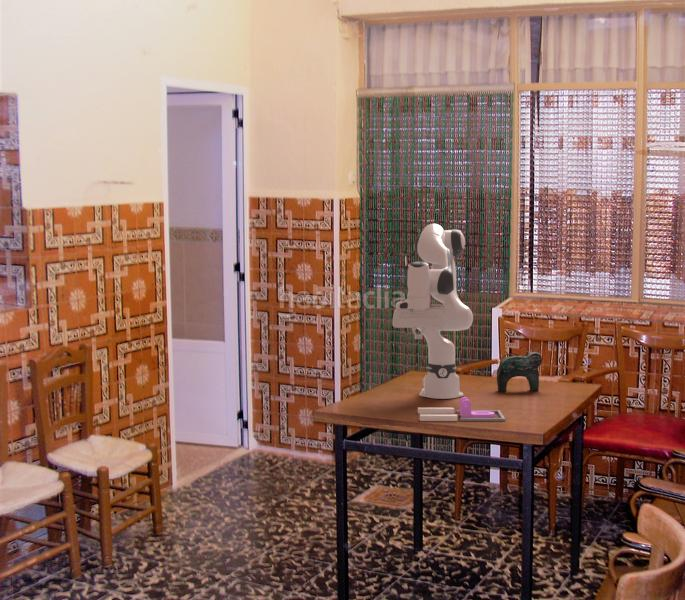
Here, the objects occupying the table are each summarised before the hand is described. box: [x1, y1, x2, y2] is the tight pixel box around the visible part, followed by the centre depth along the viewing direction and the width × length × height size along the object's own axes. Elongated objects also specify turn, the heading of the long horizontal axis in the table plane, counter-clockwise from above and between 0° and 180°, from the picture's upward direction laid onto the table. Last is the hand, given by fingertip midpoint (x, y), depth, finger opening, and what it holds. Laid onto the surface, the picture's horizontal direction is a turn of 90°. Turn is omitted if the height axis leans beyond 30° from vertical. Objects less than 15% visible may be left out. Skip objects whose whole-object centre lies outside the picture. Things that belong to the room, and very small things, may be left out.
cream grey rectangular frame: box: [417, 407, 506, 422], centre depth 376 cm, size 15×32×2 cm, turn 89°
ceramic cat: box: [496, 344, 543, 393], centre depth 427 cm, size 20×6×20 cm, turn 97°
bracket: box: [459, 396, 496, 418], centre depth 378 cm, size 13×6×7 cm, turn 90°
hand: (418, 339), depth 381 cm, fingers closed
